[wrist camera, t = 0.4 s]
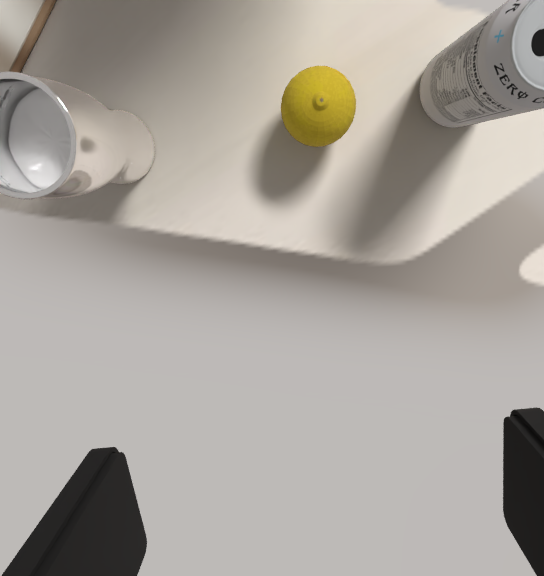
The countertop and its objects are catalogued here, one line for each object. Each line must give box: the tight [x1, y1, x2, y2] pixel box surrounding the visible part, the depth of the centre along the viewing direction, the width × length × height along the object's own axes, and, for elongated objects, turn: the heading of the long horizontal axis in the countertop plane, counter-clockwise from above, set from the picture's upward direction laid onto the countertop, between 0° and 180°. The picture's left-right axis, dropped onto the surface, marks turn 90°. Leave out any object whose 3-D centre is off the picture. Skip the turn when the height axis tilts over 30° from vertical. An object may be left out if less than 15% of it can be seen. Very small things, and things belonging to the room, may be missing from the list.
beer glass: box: [0, 72, 155, 199], centre depth 31 cm, size 7×7×15 cm
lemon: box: [281, 66, 356, 147], centre depth 33 cm, size 6×6×8 cm
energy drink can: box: [420, 0, 544, 128], centre depth 29 cm, size 6×6×15 cm
